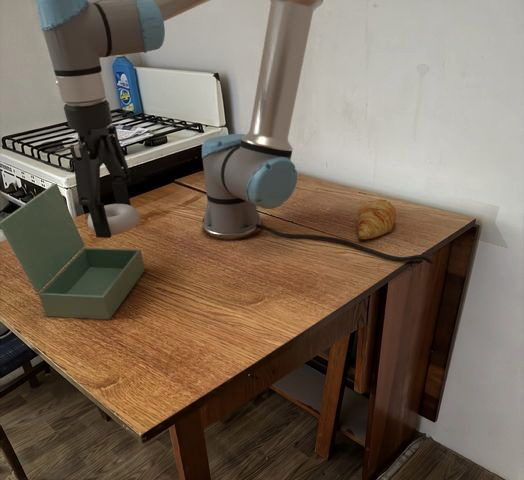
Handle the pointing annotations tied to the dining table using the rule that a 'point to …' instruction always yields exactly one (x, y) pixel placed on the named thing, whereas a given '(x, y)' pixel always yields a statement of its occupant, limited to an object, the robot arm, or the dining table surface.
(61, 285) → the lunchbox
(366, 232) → the croissant
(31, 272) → the green box lid
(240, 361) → the dining table surface
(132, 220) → the donut
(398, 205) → the dining table surface
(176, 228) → the dining table surface
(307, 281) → the dining table surface
